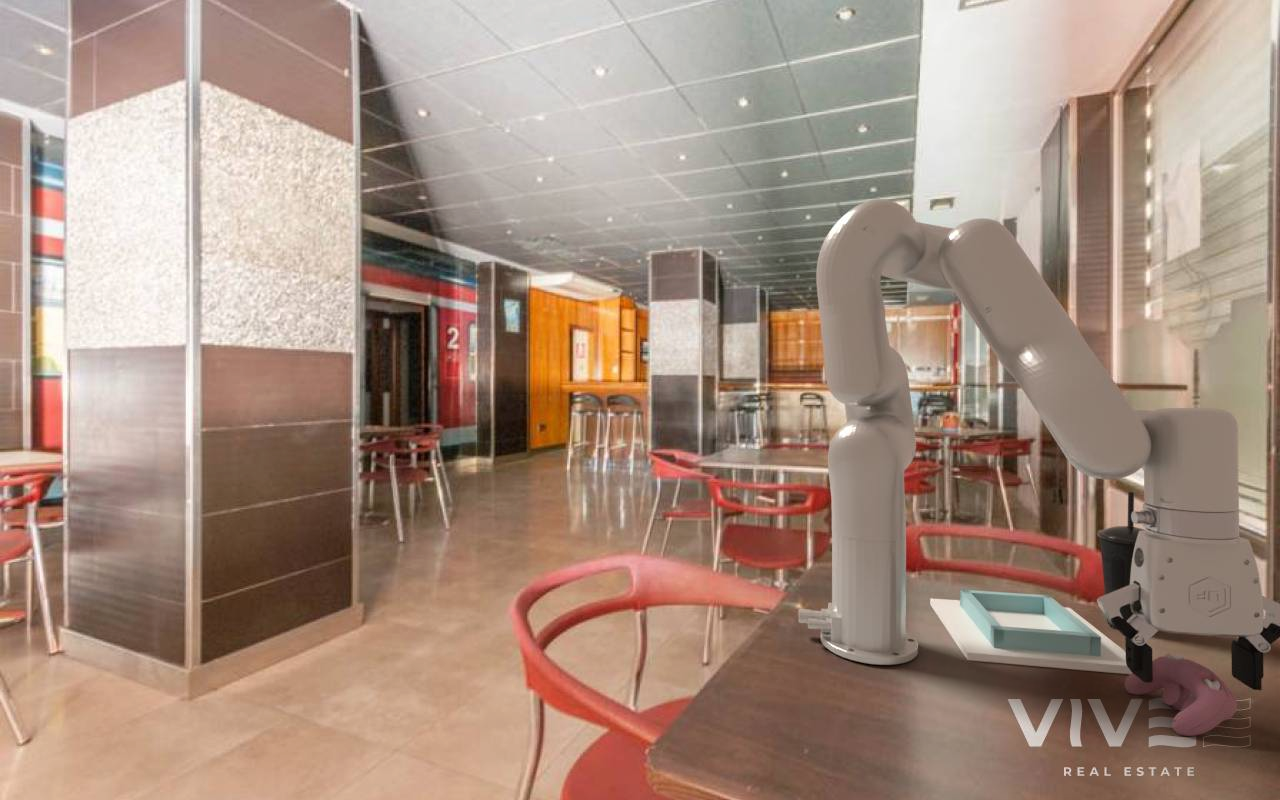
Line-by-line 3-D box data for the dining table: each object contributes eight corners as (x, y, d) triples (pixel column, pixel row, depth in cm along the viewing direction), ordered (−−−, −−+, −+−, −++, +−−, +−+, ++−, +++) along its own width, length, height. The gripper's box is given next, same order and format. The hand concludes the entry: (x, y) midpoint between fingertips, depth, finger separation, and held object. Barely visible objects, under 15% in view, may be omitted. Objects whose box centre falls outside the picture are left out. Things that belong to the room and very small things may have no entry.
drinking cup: (1173, 642, 83) (1176, 498, 83) (1107, 634, 86) (1109, 495, 86) (1149, 621, 91) (1151, 489, 90) (1088, 614, 93) (1090, 486, 93)
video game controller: (1219, 757, 61) (1258, 699, 60) (1173, 733, 61) (1210, 675, 61) (1156, 705, 70) (1188, 654, 70) (1117, 685, 71) (1148, 634, 70)
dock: (967, 660, 79) (967, 633, 79) (930, 604, 98) (930, 583, 98) (1145, 675, 74) (1146, 647, 74) (1069, 614, 94) (1069, 591, 94)
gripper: (1116, 529, 63) (1119, 690, 63) (1319, 533, 59) (1321, 705, 60) (1081, 514, 70) (1084, 659, 71) (1260, 516, 67) (1262, 670, 67)
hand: (1192, 680), depth 65 cm, fingers open, 9 cm apart
